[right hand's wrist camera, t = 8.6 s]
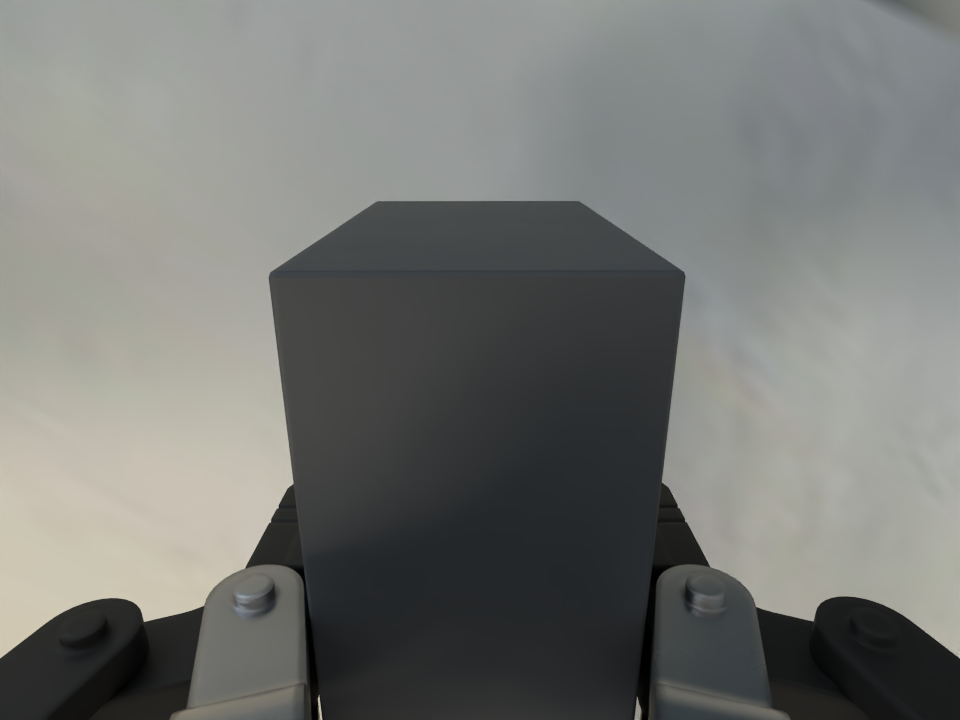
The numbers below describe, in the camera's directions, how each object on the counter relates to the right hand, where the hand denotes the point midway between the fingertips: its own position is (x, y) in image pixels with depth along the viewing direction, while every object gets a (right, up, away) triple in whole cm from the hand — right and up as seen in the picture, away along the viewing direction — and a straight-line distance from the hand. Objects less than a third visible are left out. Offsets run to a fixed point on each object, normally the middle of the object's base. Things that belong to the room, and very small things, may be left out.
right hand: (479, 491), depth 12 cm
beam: (0, -30, +13) cm, 33 cm away
